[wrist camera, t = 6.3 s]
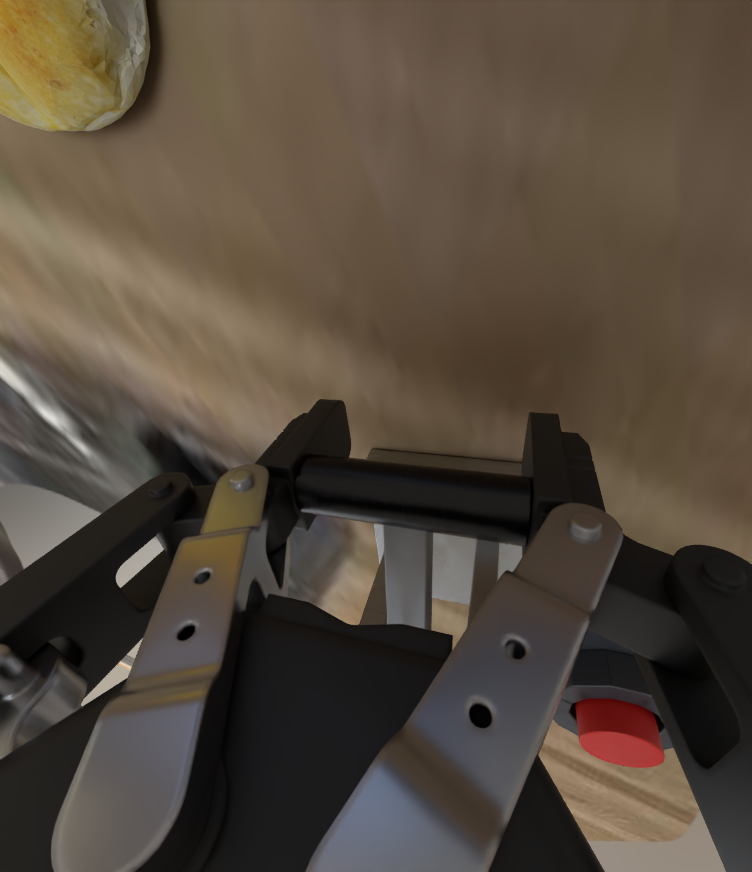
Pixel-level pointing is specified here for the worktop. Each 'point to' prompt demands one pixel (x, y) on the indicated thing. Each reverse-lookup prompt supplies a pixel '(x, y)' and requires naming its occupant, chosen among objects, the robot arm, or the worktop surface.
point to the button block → (606, 682)
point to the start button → (619, 732)
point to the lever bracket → (449, 547)
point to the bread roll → (71, 61)
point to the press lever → (415, 515)
